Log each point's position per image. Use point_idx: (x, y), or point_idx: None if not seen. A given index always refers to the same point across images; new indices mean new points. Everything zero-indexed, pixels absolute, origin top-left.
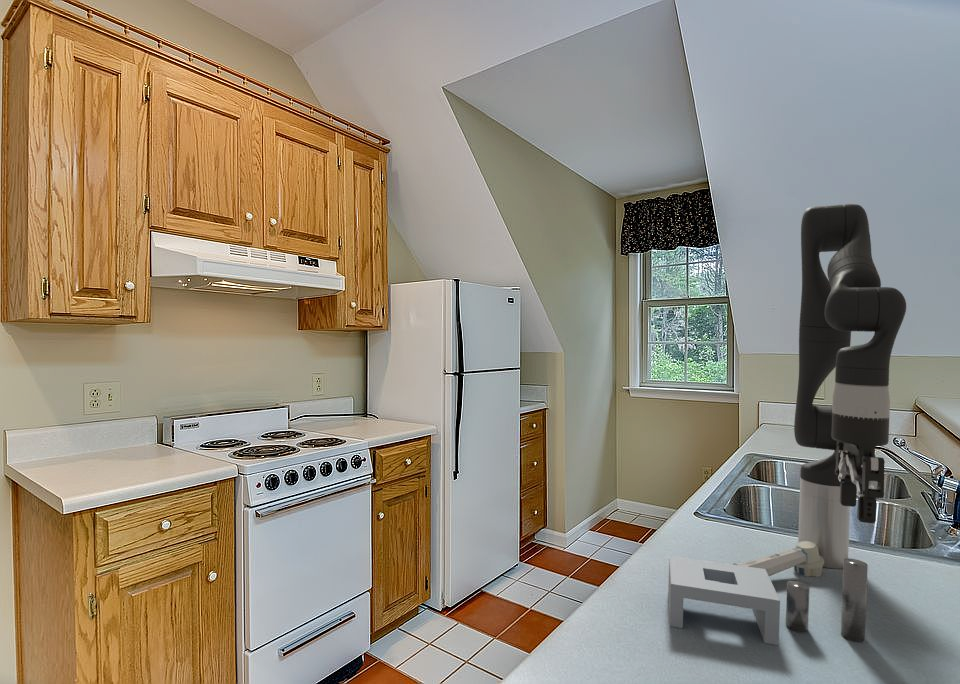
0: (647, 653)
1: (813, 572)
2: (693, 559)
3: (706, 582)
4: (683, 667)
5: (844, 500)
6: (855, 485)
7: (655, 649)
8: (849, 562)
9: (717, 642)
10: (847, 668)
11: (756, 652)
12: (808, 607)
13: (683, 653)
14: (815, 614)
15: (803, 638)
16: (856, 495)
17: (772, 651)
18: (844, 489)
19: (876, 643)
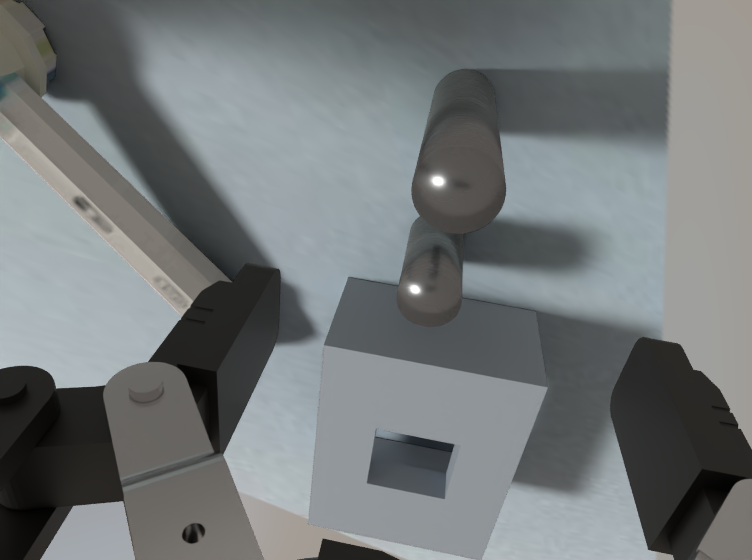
0: (586, 525)
1: (39, 40)
2: (314, 486)
3: (459, 501)
4: (631, 490)
5: (267, 346)
6: (219, 376)
7: (571, 513)
8: (462, 218)
9: None
10: (634, 197)
11: (570, 364)
12: (451, 248)
13: (582, 479)
14: (345, 152)
15: (493, 242)
16: (250, 310)
17: (563, 332)
18: (237, 406)
19: (494, 44)
